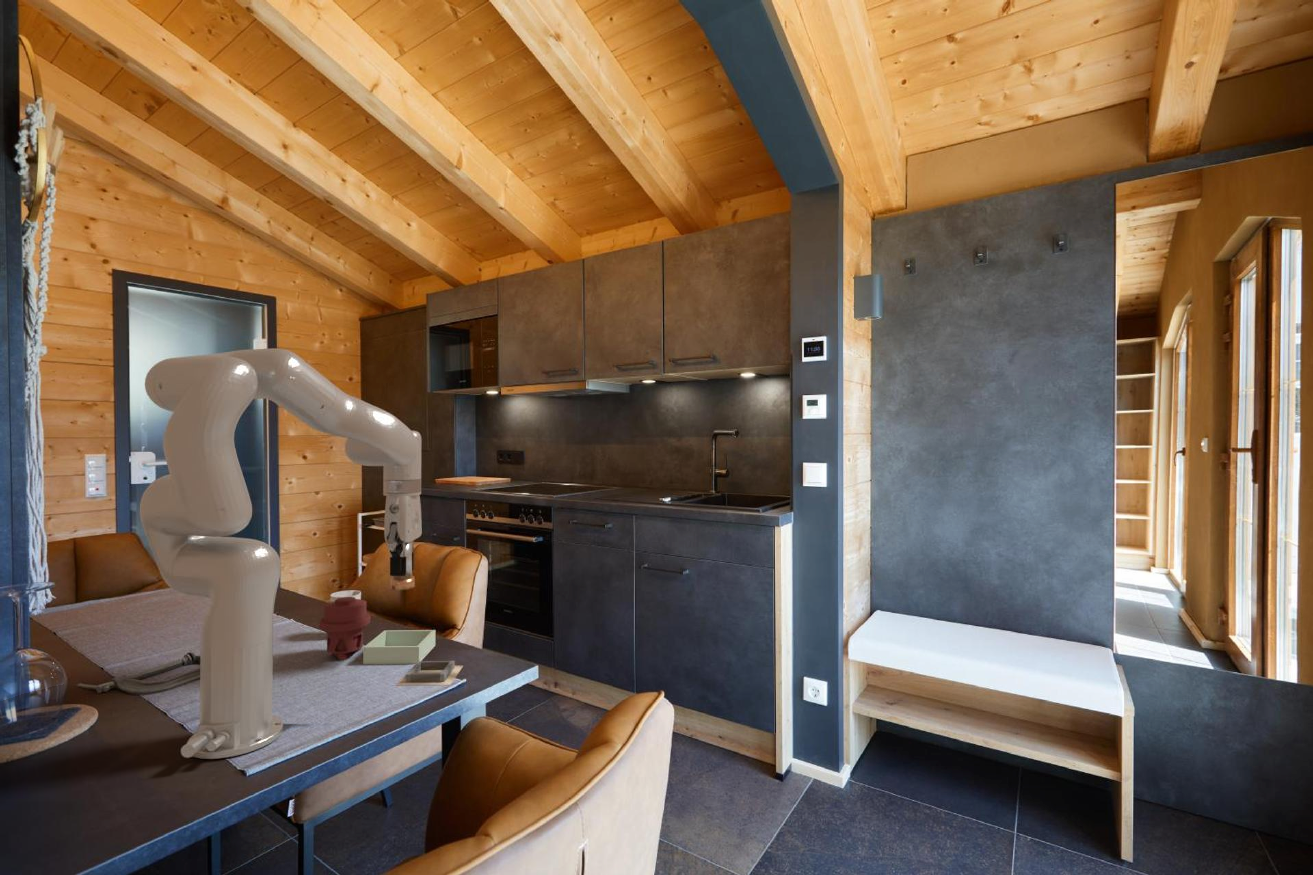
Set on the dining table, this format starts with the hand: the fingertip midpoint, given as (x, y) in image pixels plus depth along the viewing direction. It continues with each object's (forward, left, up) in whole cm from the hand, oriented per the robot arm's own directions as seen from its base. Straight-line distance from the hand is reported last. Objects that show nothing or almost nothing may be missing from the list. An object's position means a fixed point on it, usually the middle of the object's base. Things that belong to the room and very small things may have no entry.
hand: (402, 572), depth 134 cm
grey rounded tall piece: (0, 0, -3) cm, 3 cm away
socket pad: (-12, -10, -19) cm, 24 cm away
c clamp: (-8, +44, -19) cm, 48 cm away
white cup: (+17, +19, -19) cm, 32 cm away
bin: (0, 0, -19) cm, 19 cm away
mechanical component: (+3, +13, -19) cm, 23 cm away
